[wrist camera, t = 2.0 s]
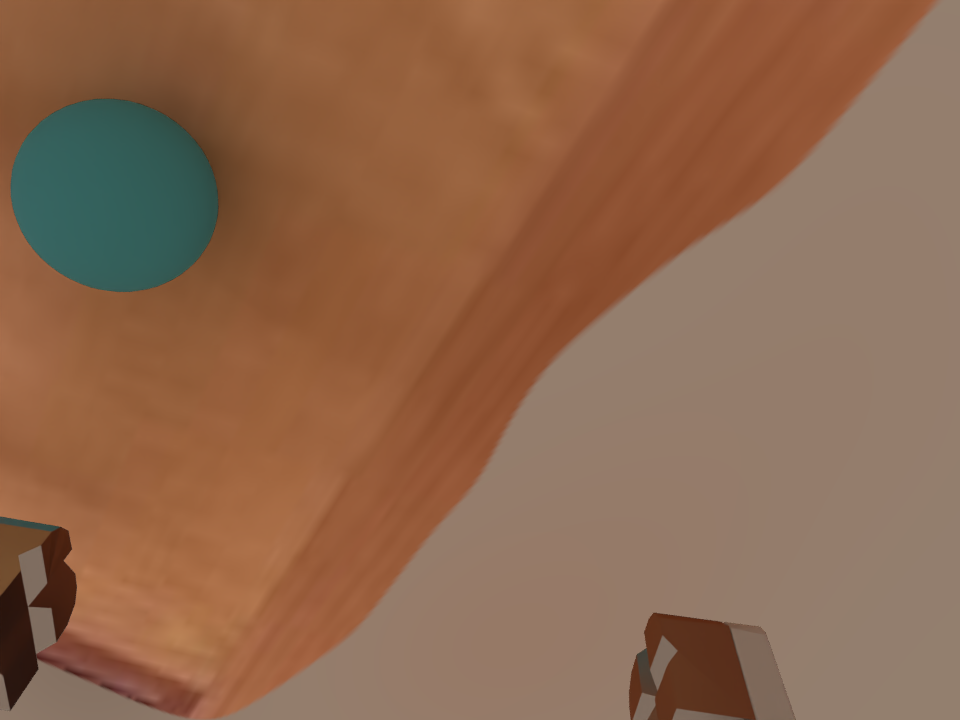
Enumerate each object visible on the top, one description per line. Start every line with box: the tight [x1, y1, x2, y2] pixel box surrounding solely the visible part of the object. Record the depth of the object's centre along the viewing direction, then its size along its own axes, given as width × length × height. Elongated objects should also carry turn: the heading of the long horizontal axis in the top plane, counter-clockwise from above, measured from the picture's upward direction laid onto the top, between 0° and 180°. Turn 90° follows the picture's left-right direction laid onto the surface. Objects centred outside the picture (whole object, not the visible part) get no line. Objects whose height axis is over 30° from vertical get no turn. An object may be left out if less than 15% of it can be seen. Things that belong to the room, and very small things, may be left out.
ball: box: [11, 99, 218, 292], centre depth 26 cm, size 6×6×6 cm
